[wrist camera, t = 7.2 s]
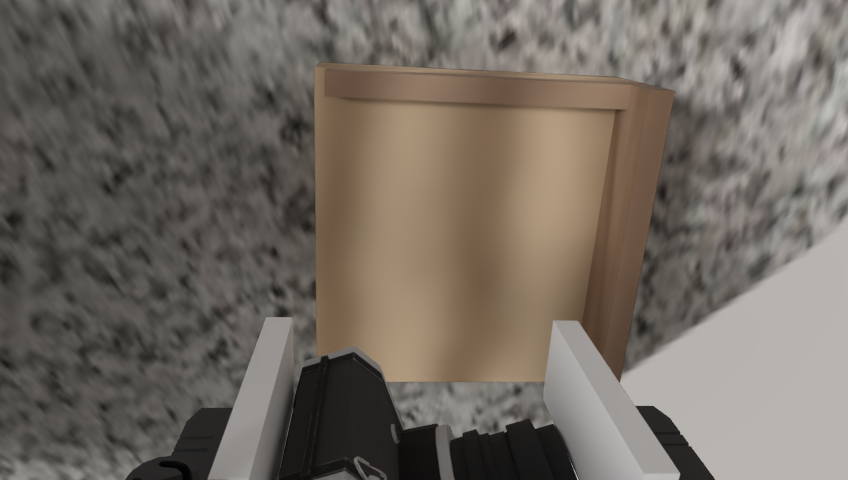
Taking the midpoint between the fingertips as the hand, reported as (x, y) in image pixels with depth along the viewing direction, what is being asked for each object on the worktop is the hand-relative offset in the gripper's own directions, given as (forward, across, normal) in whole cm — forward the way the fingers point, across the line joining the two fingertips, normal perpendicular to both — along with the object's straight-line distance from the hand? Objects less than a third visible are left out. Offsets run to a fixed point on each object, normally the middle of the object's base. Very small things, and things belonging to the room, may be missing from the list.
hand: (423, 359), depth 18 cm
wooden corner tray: (+13, +3, 0) cm, 14 cm away
